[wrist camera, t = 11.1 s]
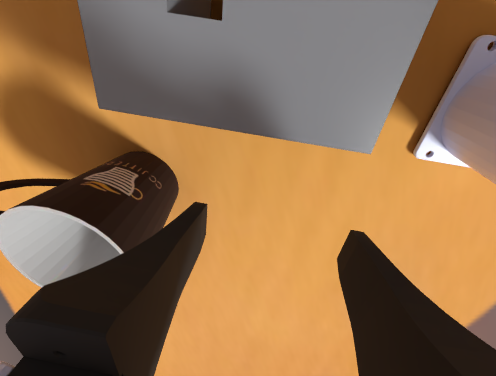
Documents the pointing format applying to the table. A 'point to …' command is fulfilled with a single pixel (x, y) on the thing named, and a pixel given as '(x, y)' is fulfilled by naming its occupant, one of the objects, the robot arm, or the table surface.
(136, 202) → the coffee mug
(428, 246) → the table surface
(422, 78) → the table surface
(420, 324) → the robot arm
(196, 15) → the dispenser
